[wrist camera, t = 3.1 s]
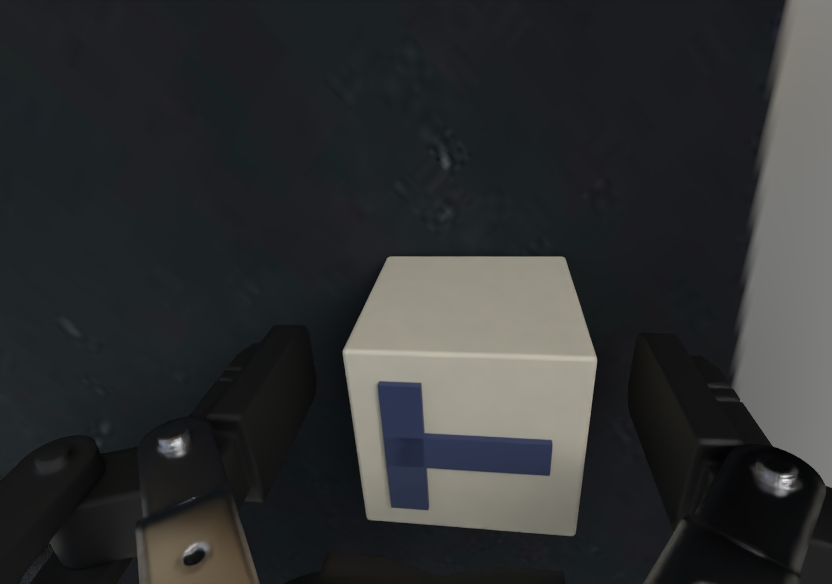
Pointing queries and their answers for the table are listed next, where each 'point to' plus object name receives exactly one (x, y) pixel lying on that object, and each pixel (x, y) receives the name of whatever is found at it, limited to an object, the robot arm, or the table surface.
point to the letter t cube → (472, 393)
